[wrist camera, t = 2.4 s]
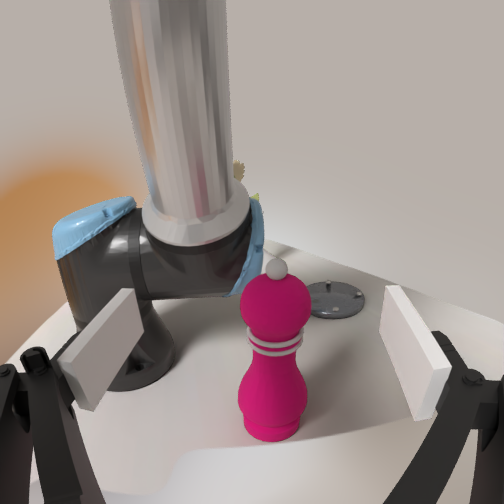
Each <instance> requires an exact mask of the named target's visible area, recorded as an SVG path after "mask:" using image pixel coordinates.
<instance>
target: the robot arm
mask: <svg viewBox="0 0 504 504" xmlns="http://www.w3.org/2000/svg"><path fill="white" fill-rule="evenodd" d="M109 1H110V9H111V15H112V22H113V29H114V35H115V41H116V47H117V52H118V58H119V63H120V68H121V74H122V79H123V83H124V89H125V93H126V98H127V103H128V107H129V112H130V116H131V121H132V125H133V129H134V134H135V138H136V142H137V145H138V150H139V154H140V157H141V162H142V166H143V169H144V173H145V177H146V181H147V184H148V188H149V192H150V193H149V195H148V196H147V198H146V199H145V202H144V204H143V207H142V208H136V202H135V201H134V198H133V197H131V196H127V197H119V198H115V199H111V200H107V201H103V202H100V203H97V204H94V205H91V206H89V207H86V208H83V209H81V210H78V211H76V212H74V213H71V214H69V215H67V216H65V217H64V218H62V219H61V220H59V221H58V222H57V223H56V224H55V226H54V228H53V231H52V237H53V245H54V251H55V260H57V264H58V268H59V271H60V275H61V279H62V282H63V286H64V289H65V292H66V296H67V299H68V302H69V305H70V308H71V311H72V314H73V317H74V320H75V323H76V327H77V333H76V334H74V335H73V336H72V337H71V338H70V339H69V340H68V341H67V343H65V344H64V345H63V346H62V348H61V349H60V350H59V351H58V352H57V353H56V354H55V355H54V357H53V358H52V359H51V360H49V357H48V355H47V353H46V350H45V349H44V348H43V347H32V348H30V349H27V350H26V351H25V352H23V354H22V355H21V357H20V361H21V363H22V365H23V367H24V369H25V371H26V373H18V372H17V370H16V368H15V366H14V365H13V364H3V365H1V366H0V504H29V487H30V473H31V462H32V453H33V446H34V452H35V458H36V464H37V470H38V475H39V480H40V484H41V489H42V493H43V497H44V504H106V502H105V500H104V498H103V495H102V493H101V490H100V488H99V485H98V483H97V480H96V478H95V475H94V472H93V469H92V467H91V464H90V461H89V458H88V455H87V452H86V449H85V446H84V443H83V440H82V436H81V433H80V430H79V426H78V423H77V419H76V415H75V412H74V409H73V407H72V405H71V404H72V402H73V401H74V400H76V402H77V404H78V406H79V408H81V409H85V410H89V411H93V412H94V410H95V408H96V407H97V405H98V403H99V402H100V400H101V399H102V397H103V395H104V394H105V392H106V390H108V391H128V390H133V389H137V388H140V387H143V386H146V385H148V384H150V383H152V382H154V381H155V380H157V379H159V378H160V377H161V376H162V375H164V374H165V373H166V372H167V370H168V369H169V368H170V367H171V365H172V363H173V361H174V358H175V349H174V345H173V340H172V337H171V335H170V333H169V331H168V330H167V329H166V327H165V325H164V323H163V322H162V320H161V319H160V317H159V315H158V314H157V312H156V311H155V309H154V307H153V304H152V300H165V299H182V298H202V297H220V296H222V297H229V296H231V295H235V294H242V292H243V290H244V288H245V287H246V285H247V284H248V283H249V282H250V281H251V280H252V279H253V278H255V277H257V276H258V275H261V272H262V266H263V255H264V252H263V245H264V221H263V214H262V209H261V205H260V203H259V201H258V200H256V199H254V198H250V197H249V195H248V192H247V190H246V188H245V187H244V186H243V185H242V183H241V182H239V181H238V180H237V179H235V178H234V172H233V154H232V134H231V115H230V92H229V70H228V46H227V21H226V0H109ZM379 333H380V335H381V338H382V340H383V342H384V345H385V347H386V349H387V352H388V354H389V357H390V359H391V362H392V364H393V367H394V369H395V372H396V374H397V377H398V379H399V382H400V384H401V387H402V390H403V392H404V395H405V397H406V400H407V403H408V405H409V408H410V411H411V414H412V416H413V419H414V421H421V420H426V419H431V417H432V416H433V413H434V411H435V409H436V410H437V412H438V415H437V417H436V419H435V421H434V423H433V425H432V427H431V428H430V430H429V432H428V434H427V436H426V438H425V439H424V441H423V443H422V445H421V446H420V448H419V450H418V452H417V453H416V455H415V457H414V458H413V460H412V461H411V463H410V465H409V466H408V468H407V469H406V471H405V472H404V474H403V476H402V477H401V479H400V480H399V482H398V483H397V484H396V486H395V487H394V489H393V490H392V492H391V493H390V495H389V496H388V497H387V499H386V500H385V501H384V503H383V504H436V502H437V501H438V499H439V497H440V495H441V493H442V491H443V489H444V487H445V486H446V484H447V482H448V479H449V478H450V476H451V474H452V471H453V469H454V467H455V465H456V463H457V461H458V458H459V456H460V454H461V451H462V449H463V447H464V444H465V442H466V440H467V437H468V435H469V432H470V429H478V442H477V453H476V463H475V471H474V479H473V486H472V492H471V498H470V503H469V504H504V375H503V376H502V379H501V381H492V380H485V378H484V376H483V375H482V374H481V373H480V372H478V371H476V370H474V369H468V367H467V366H466V364H465V363H464V361H463V360H462V358H461V357H460V355H459V354H458V352H457V351H456V349H455V348H454V346H453V345H452V343H451V342H450V340H449V339H448V337H447V336H446V335H444V334H443V333H441V332H440V331H432V332H430V330H429V329H428V327H427V326H426V324H425V323H424V321H423V319H422V318H421V316H420V315H419V313H418V312H417V310H416V309H415V307H414V306H413V305H412V303H411V302H410V300H409V299H408V297H407V296H406V294H405V293H404V291H403V290H402V289H401V287H400V286H399V285H390V286H385V293H384V300H383V308H382V314H381V321H380V327H379Z"/></svg>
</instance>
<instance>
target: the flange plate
mask: <svg viewBox="0 0 504 504" xmlns="http://www.w3.org/2000/svg"><path fill="white" fill-rule="evenodd" d="M307 289H308V290H309V293H310V297H311V305H312V308H311V315H313V316H316V317H320V318H325V319H342V318H347V317H350V316H353V315H355V314H357V313H358V312H360V311H361V309H362V308H363V305H364V295H363V293H362V292H361V291H360V290H359V289H358V288H356V287H354V286H352V285H349V284H346V283H341V282H331V281H329V280H327V281H326V282H319V283H314V284H311V285H309V286H307Z"/></svg>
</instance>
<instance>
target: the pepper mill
mask: <svg viewBox="0 0 504 504" xmlns="http://www.w3.org/2000/svg"><path fill="white" fill-rule="evenodd" d="M265 270H266V273H264V274H261V275H258V276H257V277H255V278H253V279H252V280H251V281H250V282H249V283H248V284H247V285H246V287H245V288H244V290H243V292H242V295H241V299H240V311H241V315H242V318H243V320H244V321H245V323H246V324H247V329H246V330H247V342H248V344H249V346H250V347H251V348H252V349H253V360H252V364H251V365H250V367H249V369H248V371H247V372H246V374H245V375H244V377H243V379H242V381H241V384H240V387H239V390H238V404H239V407H240V410H241V411H242V413H243V416H244V426H245V428H246V430H247V431H248V433H249V434H250V435H252V436H253V437H255V438H256V439H259V440H262V441H267V442H276V441H281V440H284V439H287V438H288V437H290V436H291V435H293V434H294V433H295V431H296V430H297V428H298V426H299V421H300V415H301V414H302V413H303V411H304V409H305V407H306V404H307V388H306V384H305V381H304V379H303V377H302V375H301V373H300V371H299V369H298V368H297V365H296V361H295V357H296V350H297V349H298V348H299V347H300V346H301V344H302V342H303V332H304V328H303V326H304V325H305V324H306V322H307V321H308V319H309V317H310V314H311V308H312V305H311V297H310V293H309V290H308V289H307V287H306V286H305V284H304V283H303V282H302V281H301V280H299V279H298V278H297V277H295V276H293V275H290V274H287V271H288V267H287V264H286V262H285V261H284V260H282V259H279V258H274V259H271V260H270V261H269V262H268V263H267V265H266V268H265Z"/></svg>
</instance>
